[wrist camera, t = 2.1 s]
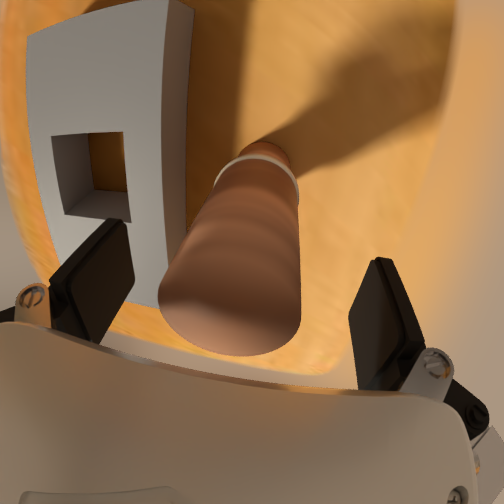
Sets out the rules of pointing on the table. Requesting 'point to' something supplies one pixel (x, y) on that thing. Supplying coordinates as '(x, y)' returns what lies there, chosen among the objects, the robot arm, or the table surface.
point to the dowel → (240, 260)
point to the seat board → (114, 128)
